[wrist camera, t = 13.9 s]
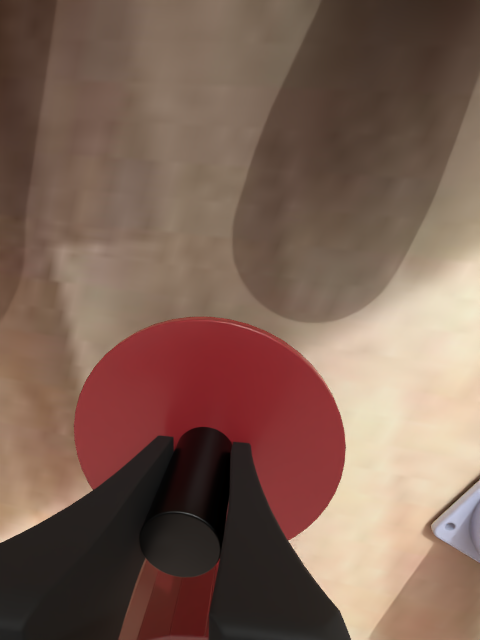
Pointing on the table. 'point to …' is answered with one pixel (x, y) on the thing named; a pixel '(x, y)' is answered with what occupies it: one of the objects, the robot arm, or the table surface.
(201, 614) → the tin
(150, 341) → the tin lid
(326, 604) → the robot arm
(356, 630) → the table surface
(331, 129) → the table surface
